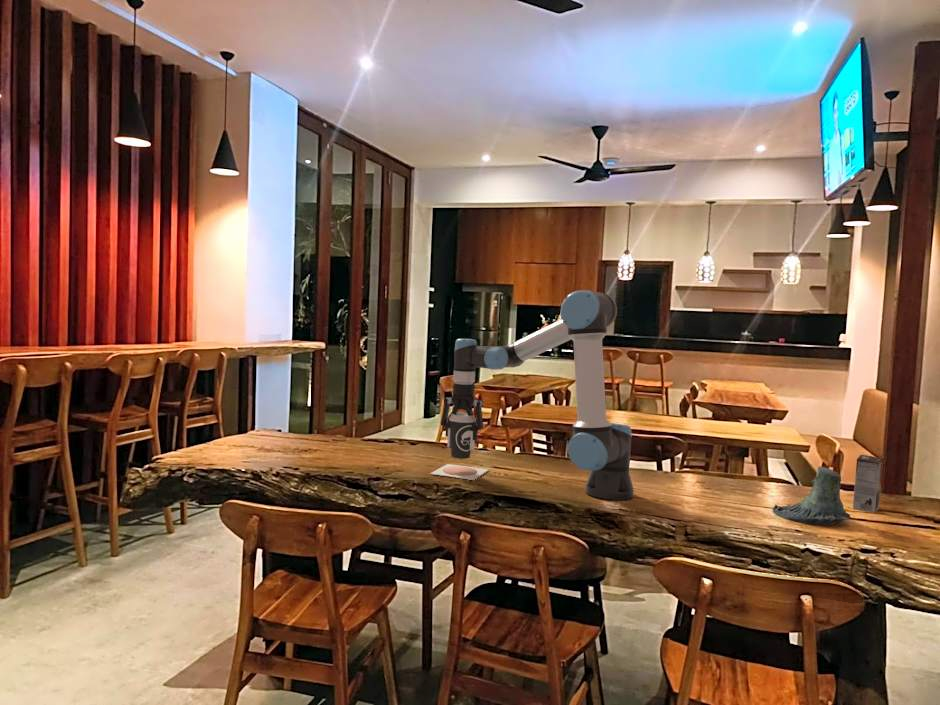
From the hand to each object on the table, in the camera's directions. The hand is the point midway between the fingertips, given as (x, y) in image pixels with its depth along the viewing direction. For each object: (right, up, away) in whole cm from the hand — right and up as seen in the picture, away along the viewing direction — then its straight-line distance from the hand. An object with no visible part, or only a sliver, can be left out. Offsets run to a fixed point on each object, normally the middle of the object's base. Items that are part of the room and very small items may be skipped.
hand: (460, 447), depth 223 cm
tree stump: (+105, -16, -34) cm, 111 cm away
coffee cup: (0, -3, 0) cm, 3 cm away
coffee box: (+129, -16, -21) cm, 132 cm away
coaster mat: (0, -9, 0) cm, 9 cm away
